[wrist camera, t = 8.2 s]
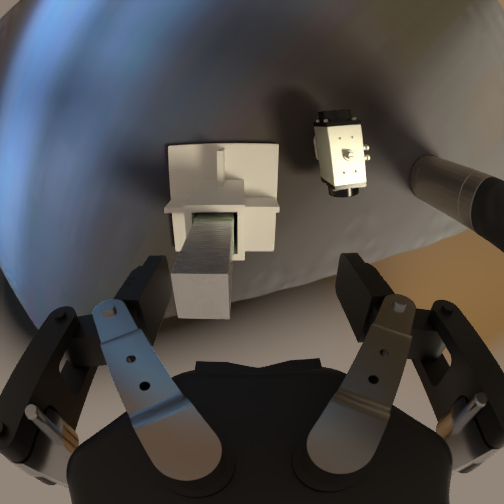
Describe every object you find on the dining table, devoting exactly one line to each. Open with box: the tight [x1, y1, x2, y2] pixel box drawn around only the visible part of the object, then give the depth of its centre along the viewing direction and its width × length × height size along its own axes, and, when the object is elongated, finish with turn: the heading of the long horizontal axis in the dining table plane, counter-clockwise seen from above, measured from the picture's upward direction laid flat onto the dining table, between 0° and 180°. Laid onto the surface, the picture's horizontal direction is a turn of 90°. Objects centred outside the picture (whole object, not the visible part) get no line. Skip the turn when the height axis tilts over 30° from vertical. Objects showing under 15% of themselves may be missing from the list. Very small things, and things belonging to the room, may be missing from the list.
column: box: [171, 212, 235, 319], centre depth 28 cm, size 4×4×20 cm
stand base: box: [164, 143, 279, 260], centre depth 37 cm, size 17×18×16 cm
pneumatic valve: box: [313, 110, 370, 197], centre depth 35 cm, size 6×12×12 cm, turn 11°
